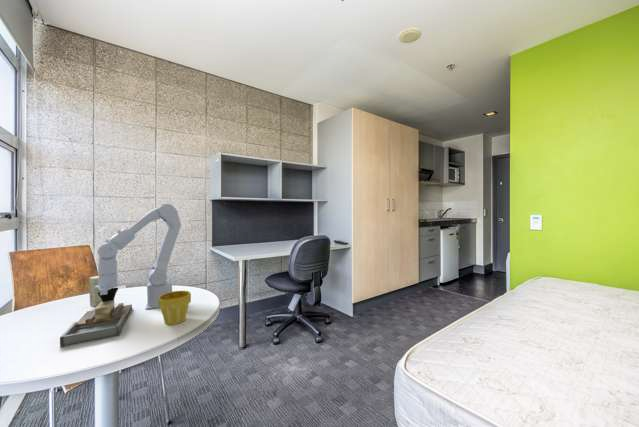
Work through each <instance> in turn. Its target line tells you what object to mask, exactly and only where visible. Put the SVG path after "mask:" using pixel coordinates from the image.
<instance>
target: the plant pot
mask: <svg viewBox="0 0 639 427" xmlns="http://www.w3.org/2000/svg"><path fill="white" fill-rule="evenodd" d="M191 298H192V294H191V291H188V290H175V291H173V290H172V292H169V293H165V294H163V295H161V296H159V298H158V305H159V307H158V308H159V309H161V310H160V311H161V314H162V316H163V321H164V324H165V325H169V326H173V325H174V326H175V325H178V324H181V323H183V322H184V321H186V318H187V315H188V314H187V312H188V308H189V306H190V305H189V304H190V303H191V302H192V301H191V300H192V299H191Z"/></svg>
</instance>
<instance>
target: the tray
mask: <svg viewBox="0 0 639 427" xmlns="http://www.w3.org/2000/svg"><path fill="white" fill-rule="evenodd" d="M126 322H127V320H126V314H123V315H122V317H121V318H120V320H116V321H110V322H104V323H98V324H93V325H87V326H81V327H78V321H75V322H73V323H72V324H71V325H70V327H68V328H67V329H66V331H65V332H63V333H62V335H61V336H60V337H59V347H60V348H64V347H70V346H74V345H78V344H84V343H89V342H94V341H99V340H105V339H110V338H115V337H118V336H120V334H121V332H122V330H123V329H124V326H125V325H126Z"/></svg>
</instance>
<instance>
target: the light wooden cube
mask: <svg viewBox="0 0 639 427" xmlns="http://www.w3.org/2000/svg"><path fill="white" fill-rule="evenodd" d="M110 303H112V313H113V311H114V307H115V299H114V300H111V301H104V302H101V303H100V304H99V305H104V304H110Z"/></svg>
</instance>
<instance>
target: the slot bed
mask: <svg viewBox="0 0 639 427" xmlns="http://www.w3.org/2000/svg"><path fill="white" fill-rule="evenodd" d="M132 310H133V305H132V304H126V305H124V302H120V303H117V305H116V306H114V311H113V313H112V314H111V316H110V317H109V318H104V319H98V320H95V308H94V309H93V310H88V311H86V313H84V314H83V316H82V317H81V318H80V319H79V320H78V321H77V322H78V327H81V326H87V325H93V324H98V323H104V322H110V321H116V320H120V318H121V317H122V315H123V314H126V321H127V320H128V318H129V316H130V315H131V314H130V313H131V312H132Z"/></svg>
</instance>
